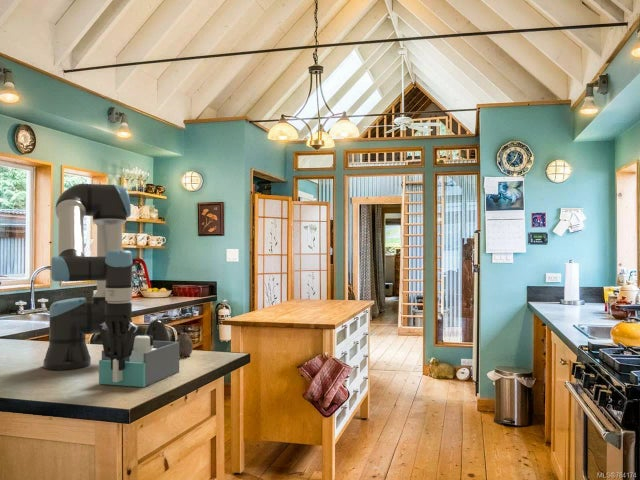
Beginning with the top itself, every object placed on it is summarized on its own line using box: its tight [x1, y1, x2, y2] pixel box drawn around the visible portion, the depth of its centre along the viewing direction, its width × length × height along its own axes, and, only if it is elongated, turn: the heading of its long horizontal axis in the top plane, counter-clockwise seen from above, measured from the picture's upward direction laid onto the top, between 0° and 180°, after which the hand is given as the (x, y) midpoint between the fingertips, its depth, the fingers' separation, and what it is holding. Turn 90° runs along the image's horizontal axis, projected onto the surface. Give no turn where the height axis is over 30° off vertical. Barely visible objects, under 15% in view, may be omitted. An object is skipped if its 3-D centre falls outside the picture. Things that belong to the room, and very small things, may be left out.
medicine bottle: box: [129, 334, 156, 363], centre depth 176 cm, size 7×7×12 cm
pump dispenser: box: [144, 319, 171, 342], centre depth 200 cm, size 10×10×15 cm
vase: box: [175, 332, 194, 358], centre depth 209 cm, size 7×7×9 cm
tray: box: [98, 359, 146, 388], centre depth 174 cm, size 15×20×7 cm
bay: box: [101, 341, 180, 388], centre depth 175 cm, size 15×20×10 cm
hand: (117, 380), depth 163 cm, fingers closed
